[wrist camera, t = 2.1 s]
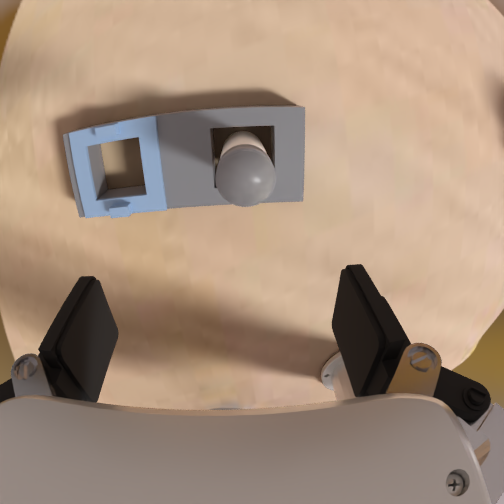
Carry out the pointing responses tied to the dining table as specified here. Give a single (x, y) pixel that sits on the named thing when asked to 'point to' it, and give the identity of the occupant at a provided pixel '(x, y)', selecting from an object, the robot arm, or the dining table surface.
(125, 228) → the dining table surface
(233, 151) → the plug
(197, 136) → the grey slotted holder
